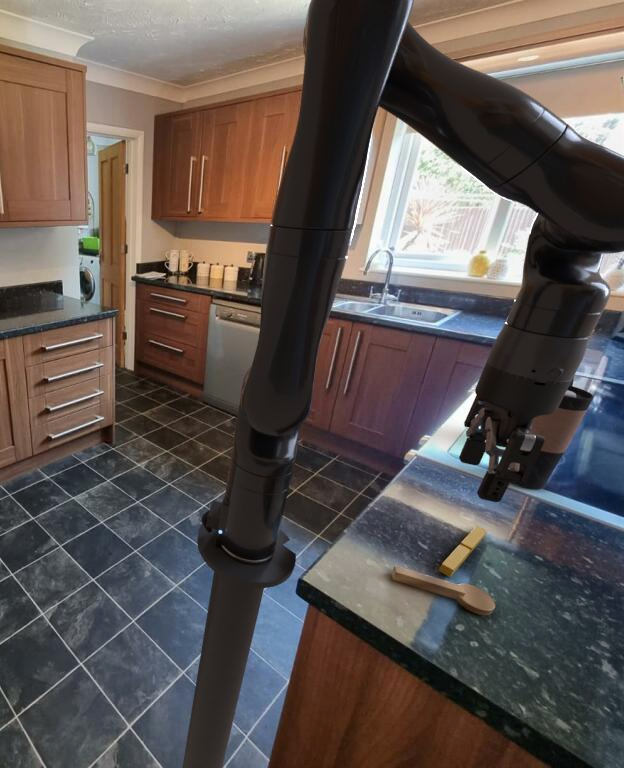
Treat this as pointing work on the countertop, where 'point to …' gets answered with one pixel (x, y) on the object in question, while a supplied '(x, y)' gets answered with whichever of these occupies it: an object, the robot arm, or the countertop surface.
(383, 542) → the countertop surface
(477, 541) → the bar
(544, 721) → the countertop surface
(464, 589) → the spoon
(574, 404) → the travel mug
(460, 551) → the bar
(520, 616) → the countertop surface
